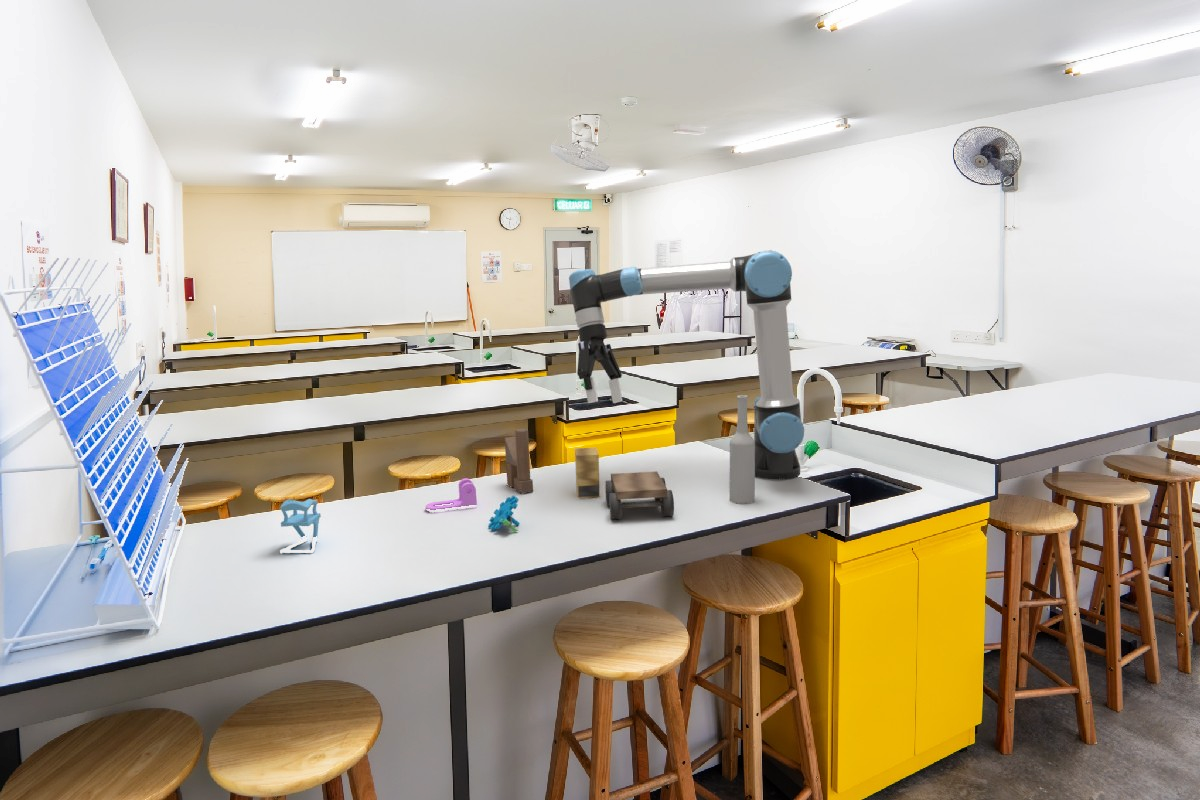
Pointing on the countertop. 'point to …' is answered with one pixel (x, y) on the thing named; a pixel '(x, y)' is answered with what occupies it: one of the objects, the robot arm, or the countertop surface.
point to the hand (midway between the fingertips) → (605, 402)
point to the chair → (300, 515)
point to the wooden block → (518, 461)
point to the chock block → (587, 473)
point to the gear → (505, 515)
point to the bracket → (465, 497)
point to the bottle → (742, 459)
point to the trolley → (638, 492)
